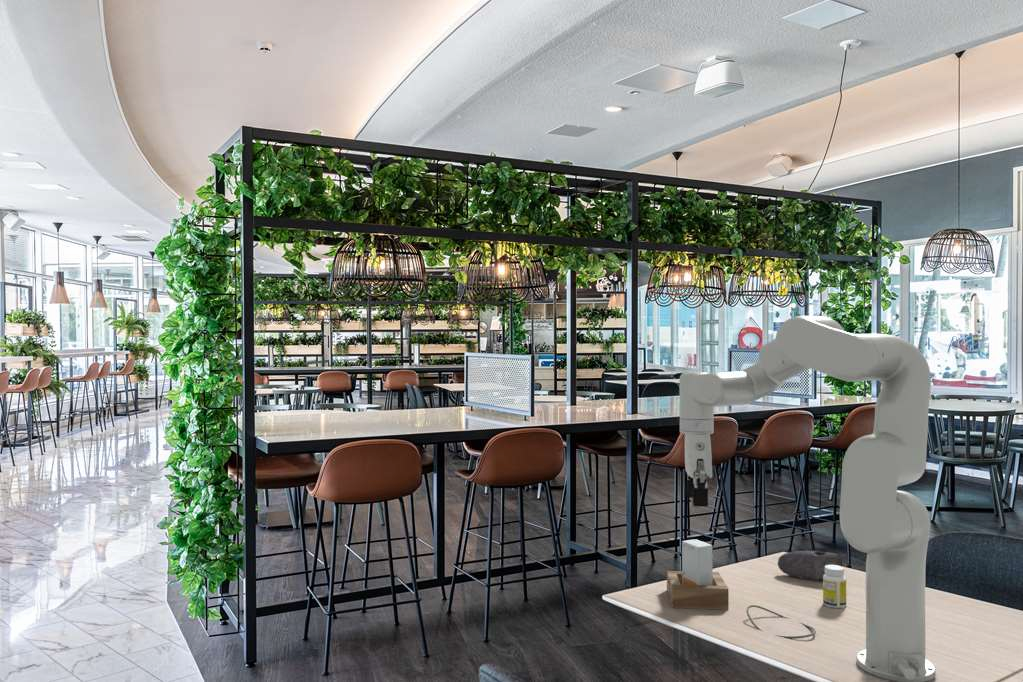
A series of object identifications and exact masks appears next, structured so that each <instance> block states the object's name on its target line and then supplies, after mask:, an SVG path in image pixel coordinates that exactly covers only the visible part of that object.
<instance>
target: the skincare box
mask: <svg viewBox="0 0 1023 682" xmlns="http://www.w3.org/2000/svg"><path fill="white" fill-rule="evenodd" d="M681 541H682V542H681V543H682V544H681V545H682V547H681V549H682V550H681V558H682V559H681V571H682V585H711V586H713V574H712V572H714V571H713V545H712V544H709V543H708V542H705V541H701V540H699V539H697V538H696V539H694V538H693V539H687V540H681Z"/></svg>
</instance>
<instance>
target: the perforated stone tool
mask: <svg viewBox="0 0 1023 682" xmlns="http://www.w3.org/2000/svg"><path fill="white" fill-rule="evenodd" d="M843 559H844V558H843V556H841V554H839V553H834V552H826V551H818V550H797V551H796V550H795V551H789V552H786V553H784V554H782V555H780V556H779V557H778V561H777V567H778V568H779V570H780V571H781V572H782V573H783V574H786V575H787V576H790V577H798V576H799V577H798V578H801V577H802V578H801V579H803V578H804V579H803V580H811V581H816V580H817V581H823V575H824V574H826V573H825V566H826V565H838V566H842V567H843V566H844V565H843Z"/></svg>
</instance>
